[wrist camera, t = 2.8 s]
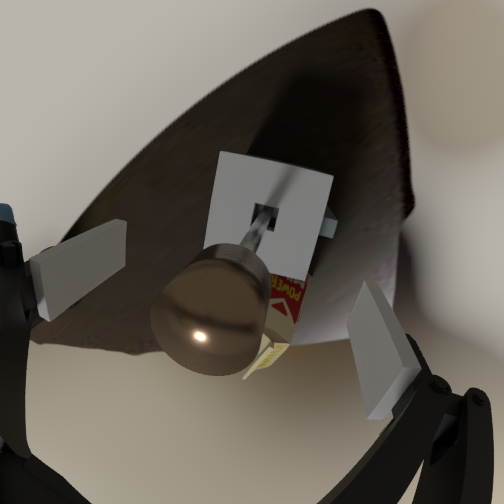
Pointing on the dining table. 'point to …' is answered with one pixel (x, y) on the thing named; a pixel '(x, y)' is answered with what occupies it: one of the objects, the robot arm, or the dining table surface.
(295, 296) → the milk carton
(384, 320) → the robot arm
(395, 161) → the dining table surface
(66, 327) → the dining table surface
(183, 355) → the plunger
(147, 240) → the dining table surface
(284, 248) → the grey box with hole
